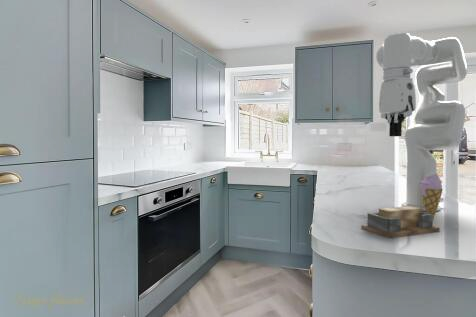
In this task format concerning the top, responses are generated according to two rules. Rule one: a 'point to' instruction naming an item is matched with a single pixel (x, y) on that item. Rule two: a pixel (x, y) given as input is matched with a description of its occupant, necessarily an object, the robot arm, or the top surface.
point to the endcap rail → (398, 225)
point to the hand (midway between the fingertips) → (395, 136)
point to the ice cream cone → (431, 192)
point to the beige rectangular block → (403, 215)
